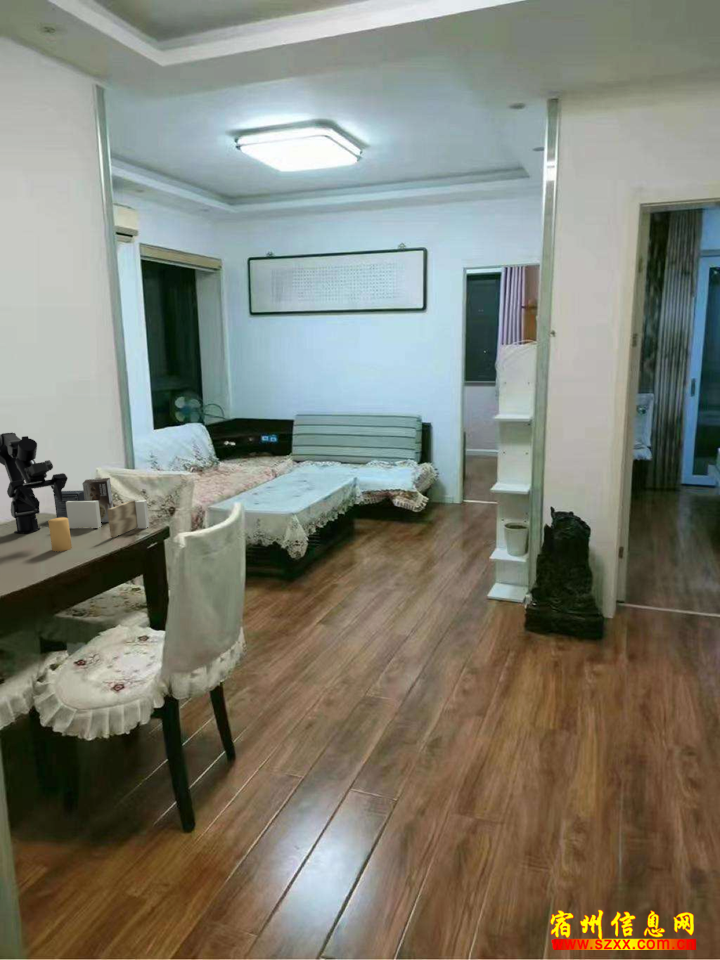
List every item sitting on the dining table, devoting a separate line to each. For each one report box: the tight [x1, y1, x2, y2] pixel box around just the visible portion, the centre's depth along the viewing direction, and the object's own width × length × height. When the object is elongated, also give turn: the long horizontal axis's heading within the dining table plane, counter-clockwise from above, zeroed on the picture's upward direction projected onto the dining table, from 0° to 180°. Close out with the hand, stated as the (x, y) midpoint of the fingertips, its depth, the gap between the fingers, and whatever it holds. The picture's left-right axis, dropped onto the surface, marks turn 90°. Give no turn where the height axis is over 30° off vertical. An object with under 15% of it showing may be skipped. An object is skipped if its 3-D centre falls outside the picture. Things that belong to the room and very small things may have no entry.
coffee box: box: [82, 477, 114, 523], centre depth 255 cm, size 9×6×16 cm
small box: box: [53, 490, 85, 518], centre depth 263 cm, size 11×6×10 cm, turn 84°
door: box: [107, 499, 138, 538], centre depth 238 cm, size 14×2×10 cm, turn 163°
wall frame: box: [66, 499, 150, 529], centre depth 246 cm, size 30×2×10 cm, turn 83°
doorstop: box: [47, 517, 73, 553], centre depth 221 cm, size 6×6×10 cm
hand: (48, 503), depth 225 cm, fingers open, 9 cm apart
